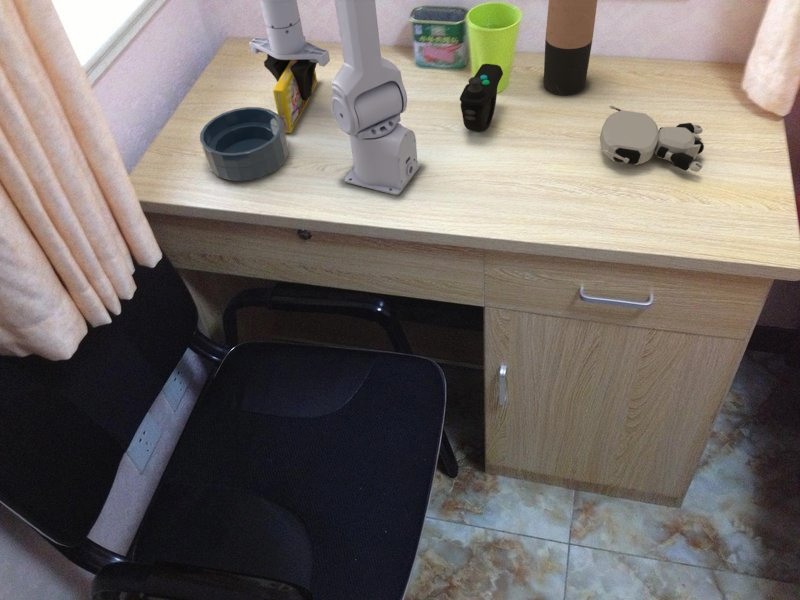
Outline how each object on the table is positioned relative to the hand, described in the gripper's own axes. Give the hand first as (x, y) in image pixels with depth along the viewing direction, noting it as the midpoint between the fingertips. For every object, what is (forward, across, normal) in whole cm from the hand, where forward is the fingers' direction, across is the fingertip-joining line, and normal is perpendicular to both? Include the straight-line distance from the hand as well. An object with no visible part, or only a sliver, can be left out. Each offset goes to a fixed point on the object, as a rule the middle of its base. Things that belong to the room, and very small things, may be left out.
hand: (298, 95), depth 120 cm
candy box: (+3, 0, 0) cm, 3 cm away
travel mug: (+3, -41, -22) cm, 47 cm away
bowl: (+2, 0, +16) cm, 16 cm away
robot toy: (+3, -59, -7) cm, 59 cm away
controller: (+3, -32, -6) cm, 33 cm away
